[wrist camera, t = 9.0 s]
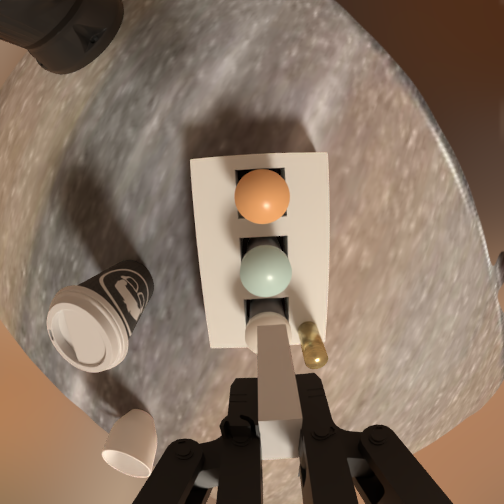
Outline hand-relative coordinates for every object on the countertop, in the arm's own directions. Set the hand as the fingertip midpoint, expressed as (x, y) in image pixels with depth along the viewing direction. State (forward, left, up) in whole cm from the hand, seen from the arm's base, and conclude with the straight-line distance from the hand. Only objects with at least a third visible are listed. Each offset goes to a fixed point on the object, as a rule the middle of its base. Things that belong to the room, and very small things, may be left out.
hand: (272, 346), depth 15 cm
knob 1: (-7, 0, -21) cm, 22 cm away
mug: (+33, -25, -21) cm, 47 cm away
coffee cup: (+4, -18, -21) cm, 28 cm away
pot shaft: (+9, +5, -16) cm, 19 cm away
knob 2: (0, 0, -21) cm, 21 cm away
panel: (0, 0, -21) cm, 21 cm away
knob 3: (+7, 0, -21) cm, 22 cm away
